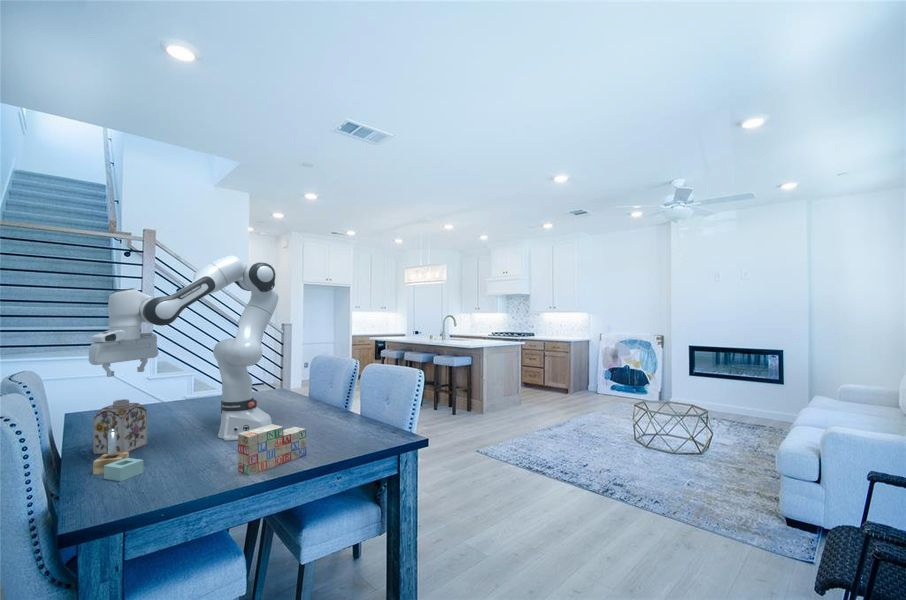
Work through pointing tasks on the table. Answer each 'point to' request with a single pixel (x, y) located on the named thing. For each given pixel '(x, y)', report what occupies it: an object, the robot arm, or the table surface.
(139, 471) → the green block with hole
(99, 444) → the decorative jar
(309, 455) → the table surface
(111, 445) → the steel needle peg
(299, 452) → the stack of blocks
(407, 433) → the table surface
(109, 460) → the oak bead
